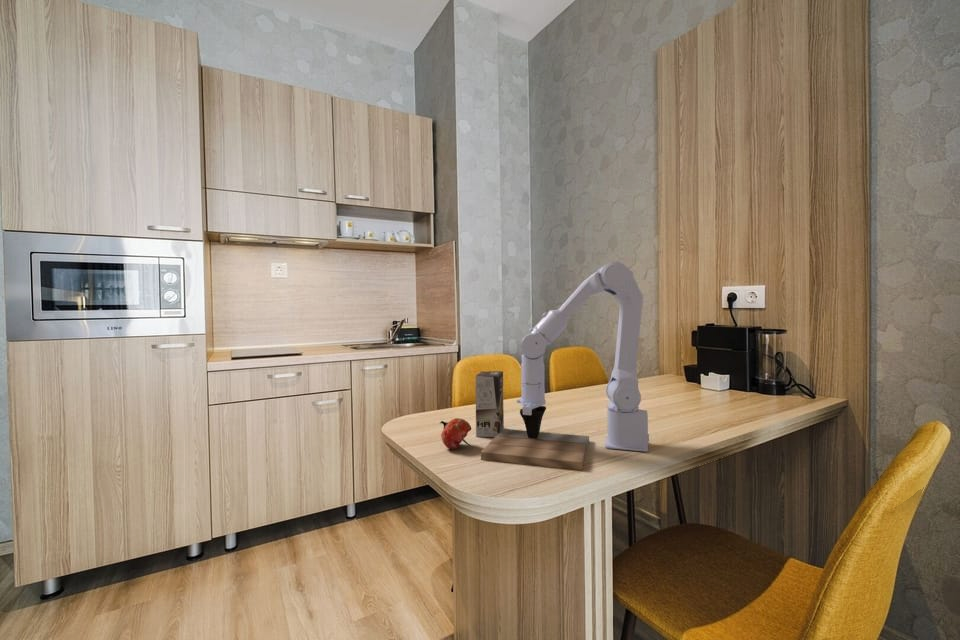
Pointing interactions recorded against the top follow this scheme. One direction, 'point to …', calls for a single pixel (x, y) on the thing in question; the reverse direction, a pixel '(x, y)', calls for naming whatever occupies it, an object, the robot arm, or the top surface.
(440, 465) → the top surface
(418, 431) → the top surface
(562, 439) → the charcoal plank
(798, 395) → the top surface
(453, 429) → the red rounded piece
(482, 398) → the coffee box
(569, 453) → the laid planks
